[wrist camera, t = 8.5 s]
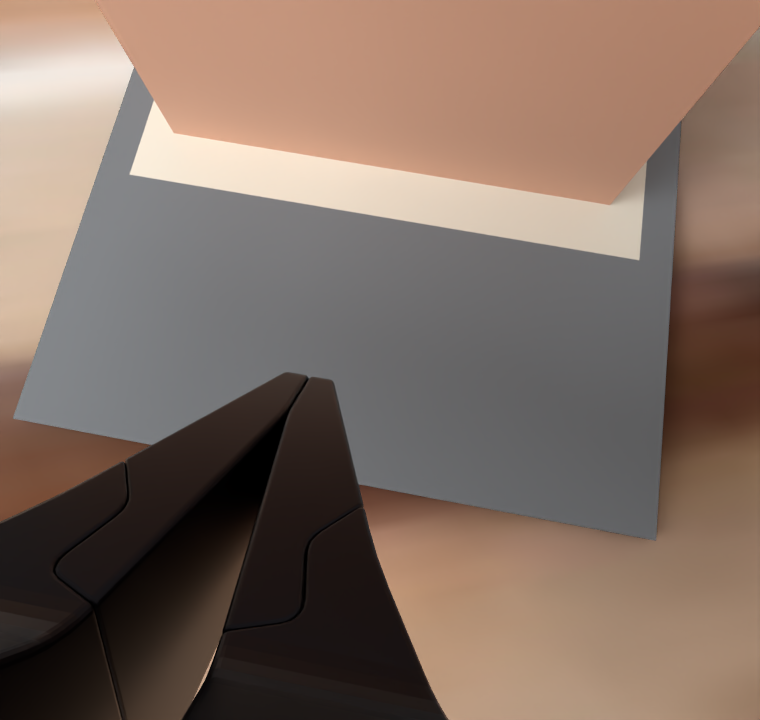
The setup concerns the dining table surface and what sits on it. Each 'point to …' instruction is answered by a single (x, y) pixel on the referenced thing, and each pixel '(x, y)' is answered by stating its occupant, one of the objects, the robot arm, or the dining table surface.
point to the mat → (375, 317)
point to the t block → (439, 80)
